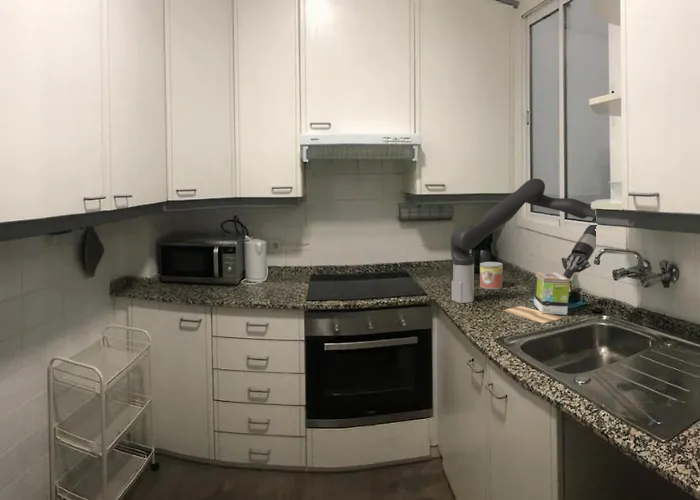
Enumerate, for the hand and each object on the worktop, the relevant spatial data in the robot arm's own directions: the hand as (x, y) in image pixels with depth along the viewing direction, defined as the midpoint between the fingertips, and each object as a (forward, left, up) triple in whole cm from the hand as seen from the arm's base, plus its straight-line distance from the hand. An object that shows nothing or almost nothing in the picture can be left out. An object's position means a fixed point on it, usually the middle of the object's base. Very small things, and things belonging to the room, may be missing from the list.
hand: (565, 278), depth 182 cm
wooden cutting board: (-20, 0, -12) cm, 24 cm away
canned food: (+3, +44, -13) cm, 46 cm away
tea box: (-9, 0, -12) cm, 15 cm away
